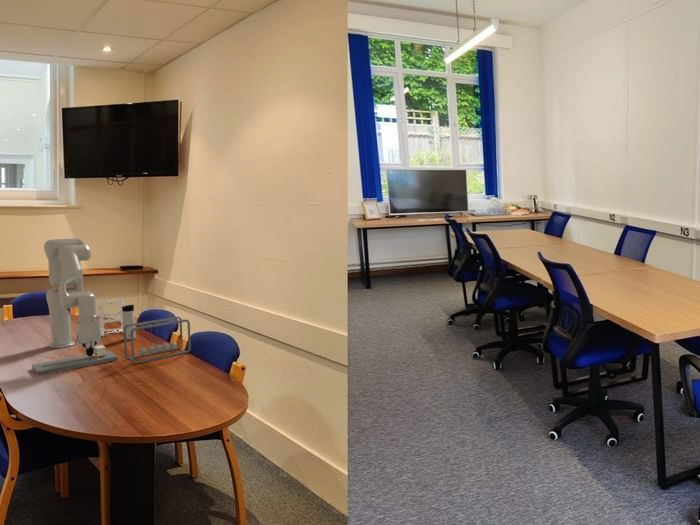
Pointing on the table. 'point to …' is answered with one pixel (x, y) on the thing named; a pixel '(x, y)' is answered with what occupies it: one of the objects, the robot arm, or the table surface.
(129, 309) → the travel mug
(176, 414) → the table surface
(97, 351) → the fader tab
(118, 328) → the film strip holder
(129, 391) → the table surface
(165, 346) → the newton's cradle
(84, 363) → the board
